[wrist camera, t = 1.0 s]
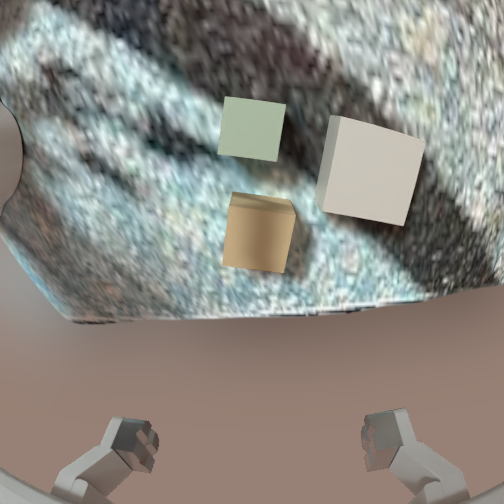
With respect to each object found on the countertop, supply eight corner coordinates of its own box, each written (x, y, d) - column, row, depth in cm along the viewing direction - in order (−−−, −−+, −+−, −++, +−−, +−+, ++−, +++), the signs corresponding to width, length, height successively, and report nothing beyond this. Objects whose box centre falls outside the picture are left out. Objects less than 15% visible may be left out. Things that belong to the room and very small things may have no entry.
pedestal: (313, 198, 32) (321, 211, 28) (330, 115, 28) (340, 116, 24) (388, 212, 32) (403, 226, 29) (407, 136, 28) (425, 141, 25)
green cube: (223, 147, 29) (217, 154, 25) (229, 98, 27) (225, 96, 23) (272, 153, 30) (276, 162, 25) (280, 105, 28) (285, 104, 23)
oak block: (226, 243, 34) (222, 265, 30) (232, 191, 32) (229, 206, 27) (279, 250, 35) (283, 273, 30) (289, 199, 32) (296, 215, 27)
